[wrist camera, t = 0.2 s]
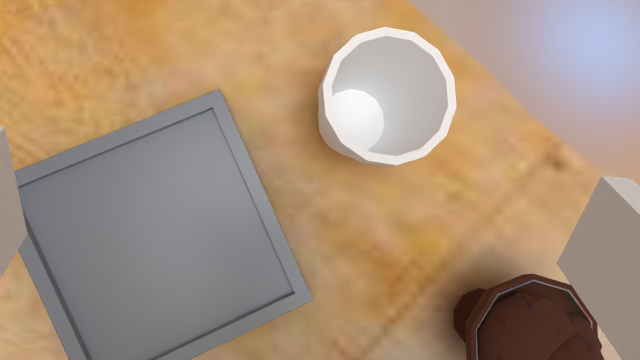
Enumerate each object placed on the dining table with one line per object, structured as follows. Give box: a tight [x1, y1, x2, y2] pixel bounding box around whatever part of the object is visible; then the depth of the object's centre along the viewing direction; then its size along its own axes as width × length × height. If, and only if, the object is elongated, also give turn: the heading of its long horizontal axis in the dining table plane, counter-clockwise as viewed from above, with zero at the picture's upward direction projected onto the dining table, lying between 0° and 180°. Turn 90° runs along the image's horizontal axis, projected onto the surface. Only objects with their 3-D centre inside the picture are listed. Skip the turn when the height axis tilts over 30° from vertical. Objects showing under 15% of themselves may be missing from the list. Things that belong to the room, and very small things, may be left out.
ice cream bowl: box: [454, 274, 604, 360], centre depth 42 cm, size 11×11×15 cm
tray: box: [15, 89, 313, 360], centre depth 44 cm, size 20×20×2 cm
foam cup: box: [318, 27, 456, 167], centre depth 42 cm, size 10×9×13 cm
